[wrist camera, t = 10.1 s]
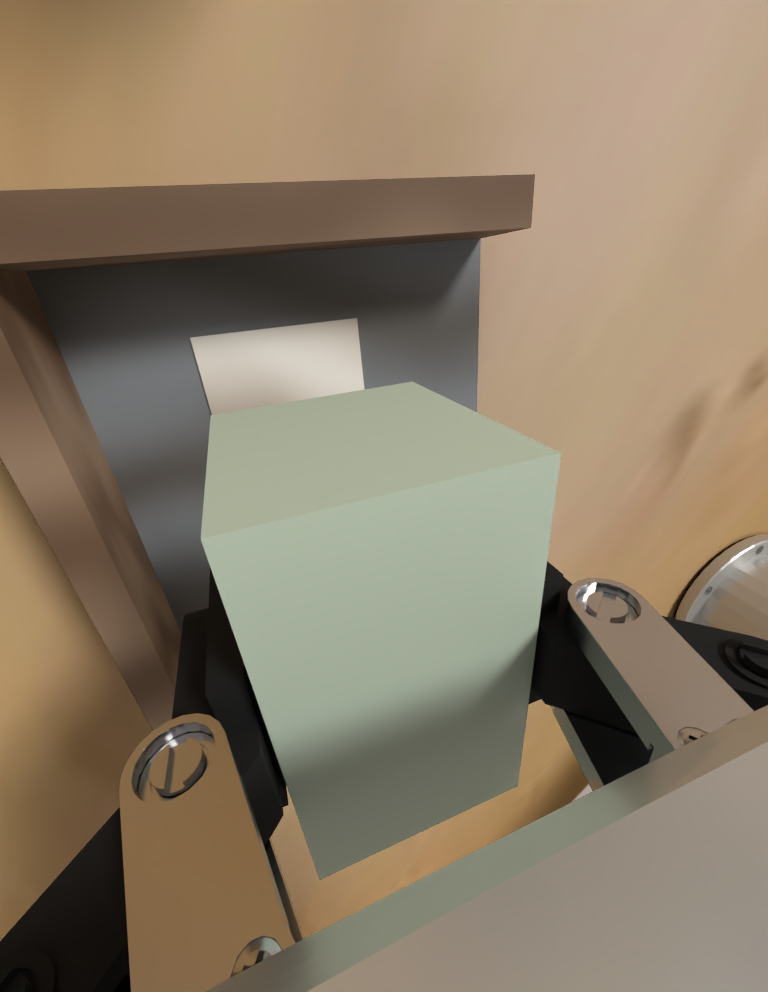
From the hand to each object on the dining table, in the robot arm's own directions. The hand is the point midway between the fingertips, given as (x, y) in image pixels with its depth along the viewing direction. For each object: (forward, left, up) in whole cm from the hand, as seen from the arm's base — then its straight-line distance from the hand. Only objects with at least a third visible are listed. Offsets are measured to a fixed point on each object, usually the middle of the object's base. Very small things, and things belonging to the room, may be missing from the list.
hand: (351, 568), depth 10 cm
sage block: (0, 0, -1) cm, 1 cm away
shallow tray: (-1, 0, -10) cm, 11 cm away
